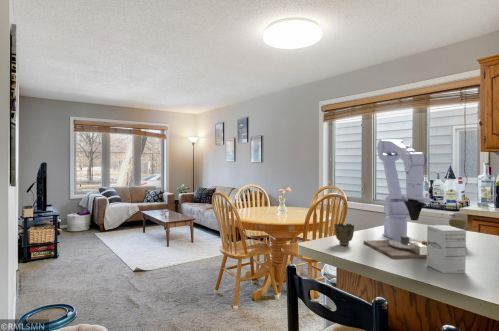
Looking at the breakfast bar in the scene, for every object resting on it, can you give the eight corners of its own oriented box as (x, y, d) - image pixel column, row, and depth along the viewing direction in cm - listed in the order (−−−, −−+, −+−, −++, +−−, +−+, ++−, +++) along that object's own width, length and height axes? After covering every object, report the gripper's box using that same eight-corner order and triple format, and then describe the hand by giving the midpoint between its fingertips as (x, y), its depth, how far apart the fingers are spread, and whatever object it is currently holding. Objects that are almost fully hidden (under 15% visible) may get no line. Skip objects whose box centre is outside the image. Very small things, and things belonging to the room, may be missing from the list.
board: (363, 243, 122) (363, 230, 122) (414, 241, 125) (414, 229, 125) (393, 258, 102) (393, 243, 102) (453, 256, 105) (453, 242, 105)
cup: (355, 243, 121) (355, 223, 121) (353, 248, 114) (353, 227, 114) (335, 241, 124) (336, 222, 124) (332, 246, 117) (332, 225, 117)
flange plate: (383, 242, 119) (383, 234, 119) (410, 241, 119) (410, 234, 119) (407, 254, 102) (407, 246, 102) (439, 254, 103) (439, 246, 103)
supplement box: (425, 265, 96) (426, 225, 96) (448, 264, 96) (448, 224, 96) (442, 273, 88) (443, 230, 88) (466, 273, 89) (467, 229, 89)
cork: (469, 249, 113) (470, 220, 113) (451, 248, 115) (451, 219, 115) (461, 245, 119) (462, 217, 119) (444, 244, 121) (445, 216, 121)
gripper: (393, 183, 122) (393, 216, 122) (417, 185, 108) (417, 224, 108) (409, 182, 123) (409, 216, 123) (435, 185, 109) (435, 223, 109)
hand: (414, 220), depth 116 cm, fingers closed
